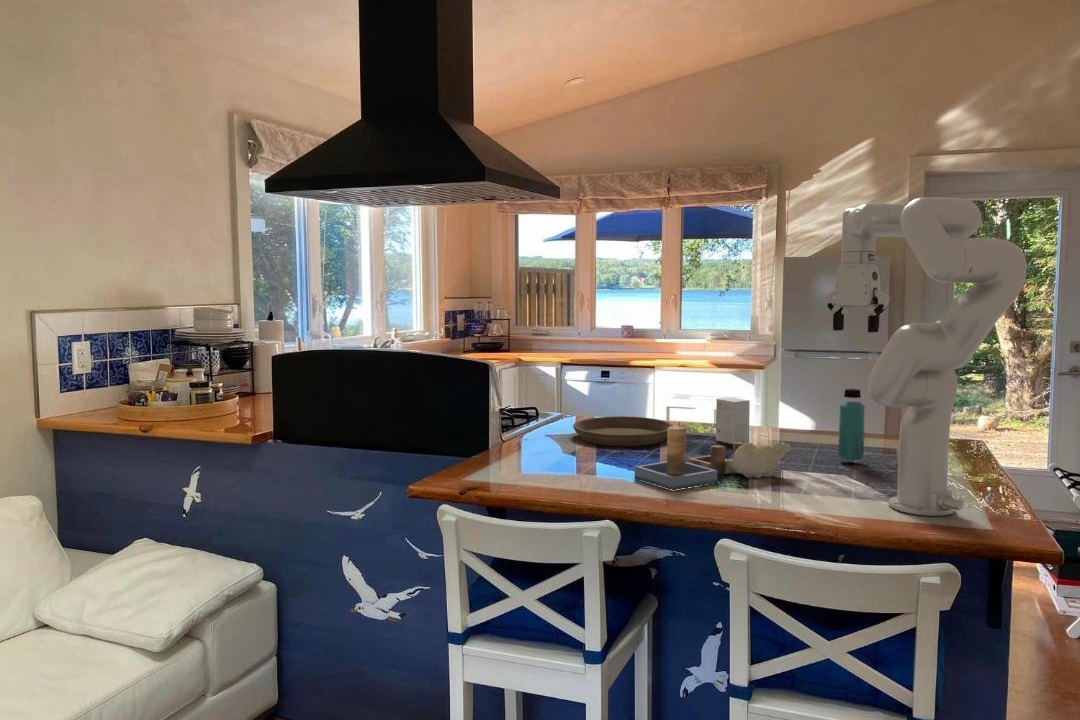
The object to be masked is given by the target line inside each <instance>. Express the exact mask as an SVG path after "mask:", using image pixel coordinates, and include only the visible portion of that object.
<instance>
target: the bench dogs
mask: <svg viewBox="0 0 1080 720" xmlns="http://www.w3.org/2000/svg"><path fill="white" fill-rule="evenodd" d="M743 444H745V442H734V443H733V444H732V446H733V447H732V450H733V452H732V455H733V456H734V453H735V451H736V450H737V449H738V448H739V446H741V445H743ZM709 455H710V469H714V470H718V473H717V475H723V476H725V475H724V474H726V472H725V459H726V446H725V445H718V444H714V445H710V454H709ZM733 456H732V457H733Z"/></svg>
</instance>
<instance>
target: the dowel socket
mask: <svg viewBox="0 0 1080 720" xmlns="http://www.w3.org/2000/svg"><path fill="white" fill-rule="evenodd" d="M710 455H711V454H708V455H703V456H702V455H701V456H696V457H689V458H688V463H692V464H695V465H699V466H703V467H707V468H710ZM727 460H728V459H726V458H725V462H726V461H727Z"/></svg>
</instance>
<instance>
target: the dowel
mask: <svg viewBox="0 0 1080 720" xmlns="http://www.w3.org/2000/svg"><path fill="white" fill-rule="evenodd" d="M666 440H667V444H666V445H667V446H666V450H667V452H666V453H667V454H666V462H667V475H670V476H680V475H685V462H686V459H687V458H686V454H687V453H686V449H687V446H686V445H687V428H686V427H683V426H673V427H668V436H667V438H666Z"/></svg>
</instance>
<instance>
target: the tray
mask: <svg viewBox="0 0 1080 720" xmlns="http://www.w3.org/2000/svg"><path fill="white" fill-rule="evenodd" d="M717 473H718V470H714V469H710V468H707V467H703V466H699V465H695V464H692V463H688V462H687V461H685V475H680V476H670V475H667V461H661V462H655V463H647V464H640V465H635V466H634V480H635V479H638V480H637V481H639V480H642V481H645V482H649V483H652V484H656V485H659V486H662V487H665V488H668V489H672V490H676V489H681V488H688V487H694V486H700V485H705V484H712V483H717V484H718V476H717ZM642 481H641V482H642ZM645 482H644V483H645ZM712 485H713V484H712Z"/></svg>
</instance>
